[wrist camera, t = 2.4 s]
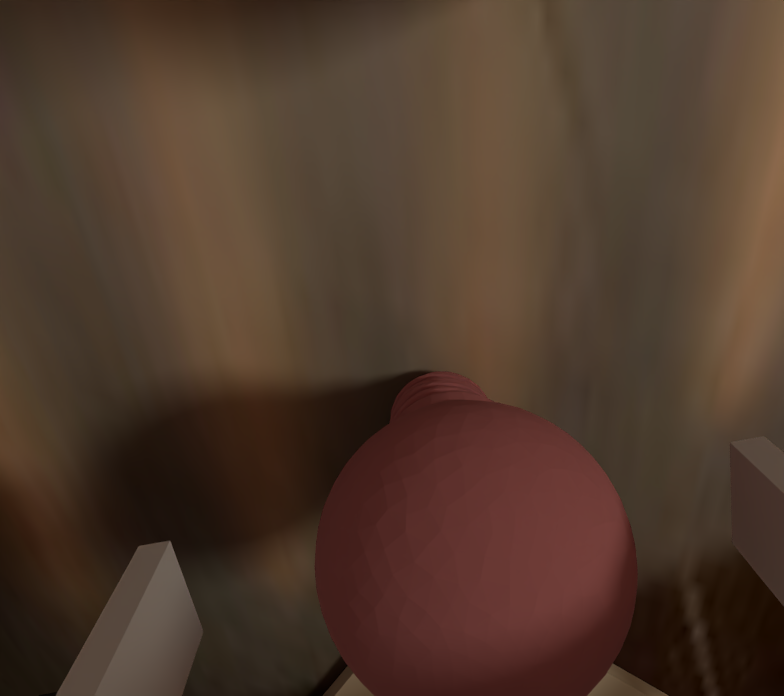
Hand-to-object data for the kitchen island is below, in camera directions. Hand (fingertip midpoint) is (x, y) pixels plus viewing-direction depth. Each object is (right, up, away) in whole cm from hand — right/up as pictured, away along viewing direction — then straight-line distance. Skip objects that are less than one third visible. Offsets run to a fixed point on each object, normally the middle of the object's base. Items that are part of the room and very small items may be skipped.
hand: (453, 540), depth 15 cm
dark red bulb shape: (0, +3, +8) cm, 8 cm away
